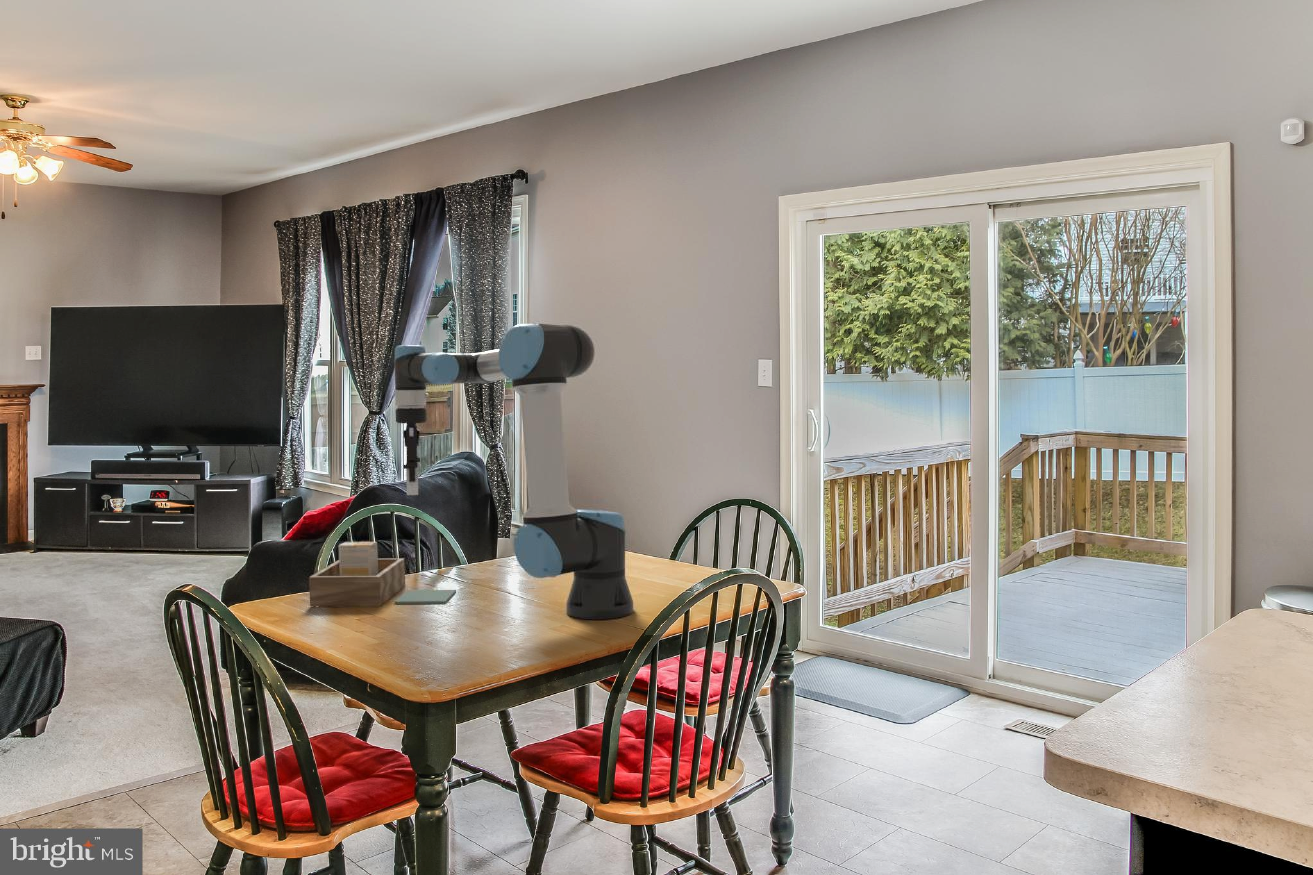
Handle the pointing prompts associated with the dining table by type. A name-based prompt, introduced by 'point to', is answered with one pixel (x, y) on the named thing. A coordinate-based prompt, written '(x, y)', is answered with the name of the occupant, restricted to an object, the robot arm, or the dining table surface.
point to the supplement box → (358, 559)
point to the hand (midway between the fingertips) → (412, 491)
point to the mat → (425, 597)
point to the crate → (357, 585)
